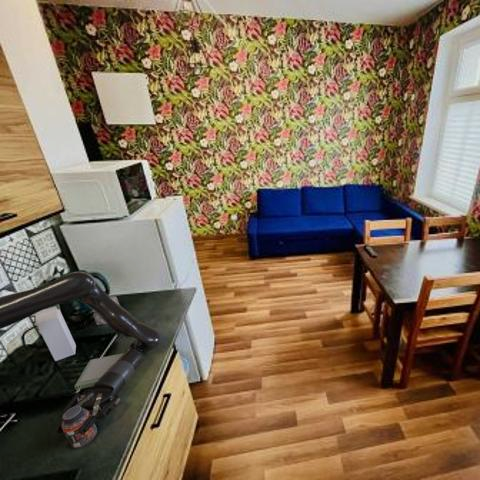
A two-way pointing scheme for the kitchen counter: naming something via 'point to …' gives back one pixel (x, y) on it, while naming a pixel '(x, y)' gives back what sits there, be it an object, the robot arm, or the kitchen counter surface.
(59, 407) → the kitchen counter surface
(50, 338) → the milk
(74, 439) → the supplement bottle
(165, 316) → the kitchen counter surface
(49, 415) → the kitchen counter surface
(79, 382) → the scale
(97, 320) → the food item
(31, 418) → the kitchen counter surface
